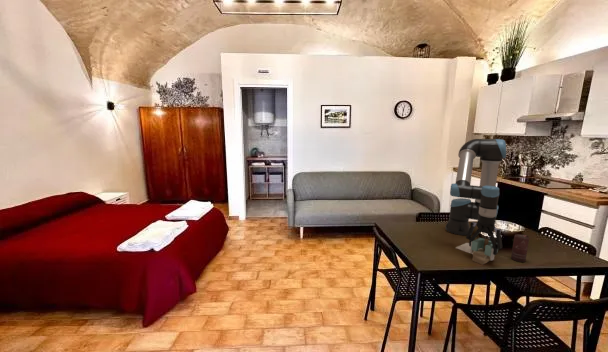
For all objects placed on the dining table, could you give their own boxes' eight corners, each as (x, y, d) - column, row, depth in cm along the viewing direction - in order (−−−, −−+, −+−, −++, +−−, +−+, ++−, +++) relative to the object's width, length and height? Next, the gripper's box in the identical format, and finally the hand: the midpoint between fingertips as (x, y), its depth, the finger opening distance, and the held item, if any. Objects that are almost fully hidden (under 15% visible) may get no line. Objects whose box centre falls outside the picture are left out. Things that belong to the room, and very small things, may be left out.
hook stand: (483, 255, 146) (486, 235, 145) (493, 258, 142) (496, 238, 140) (472, 260, 139) (474, 240, 138) (482, 264, 135) (485, 243, 133)
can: (528, 261, 140) (532, 236, 137) (520, 263, 138) (524, 238, 136) (516, 256, 145) (520, 232, 143) (508, 257, 144) (511, 233, 141)
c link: (479, 246, 146) (480, 237, 145) (497, 252, 139) (499, 243, 138) (471, 249, 141) (472, 241, 141) (489, 256, 134) (491, 247, 133)
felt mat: (466, 243, 163) (466, 242, 163) (492, 251, 151) (492, 251, 151) (455, 248, 155) (455, 247, 155) (480, 257, 144) (480, 256, 143)
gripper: (461, 211, 143) (457, 249, 146) (508, 222, 124) (502, 266, 128) (468, 209, 147) (463, 247, 150) (515, 220, 128) (508, 262, 132)
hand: (481, 256), depth 139 cm, fingers closed on c link, 9 cm apart
